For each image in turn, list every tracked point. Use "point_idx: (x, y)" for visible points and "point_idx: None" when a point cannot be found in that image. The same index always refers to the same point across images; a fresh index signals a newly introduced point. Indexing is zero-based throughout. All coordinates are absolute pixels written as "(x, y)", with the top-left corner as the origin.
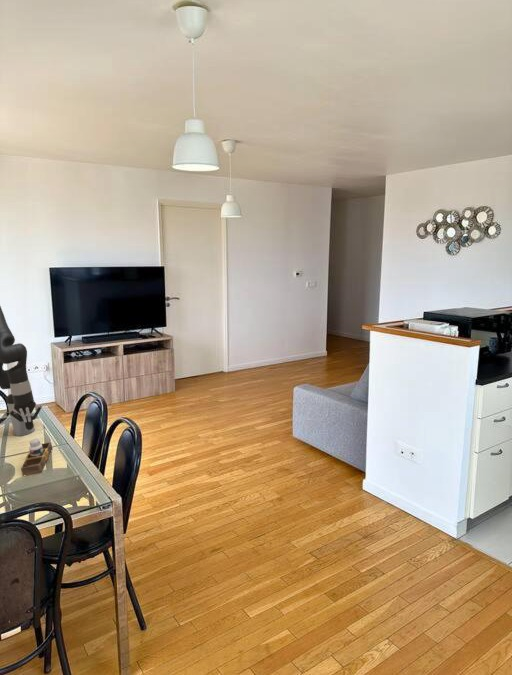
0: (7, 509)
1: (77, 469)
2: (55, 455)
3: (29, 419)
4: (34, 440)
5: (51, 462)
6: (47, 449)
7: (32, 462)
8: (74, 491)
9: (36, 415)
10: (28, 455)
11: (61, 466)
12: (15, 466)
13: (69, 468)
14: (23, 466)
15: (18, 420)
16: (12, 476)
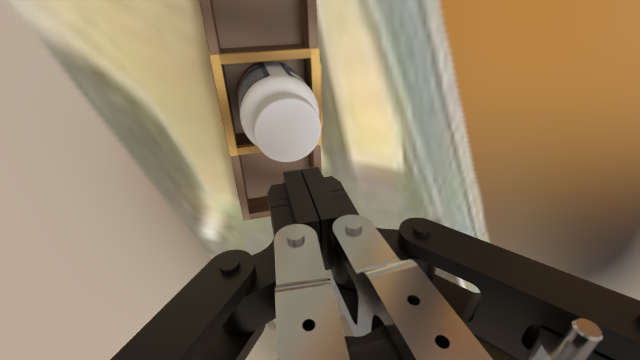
0: None
1: (436, 187)
2: (339, 41)
3: (357, 294)
4: (284, 121)
5: (334, 113)
6: (317, 51)
7: None
8: None
9: (468, 307)
10: (230, 116)
11: (382, 157)
12: (152, 108)
13: (411, 176)
14: (247, 203)
15: (216, 337)
16: (195, 195)
